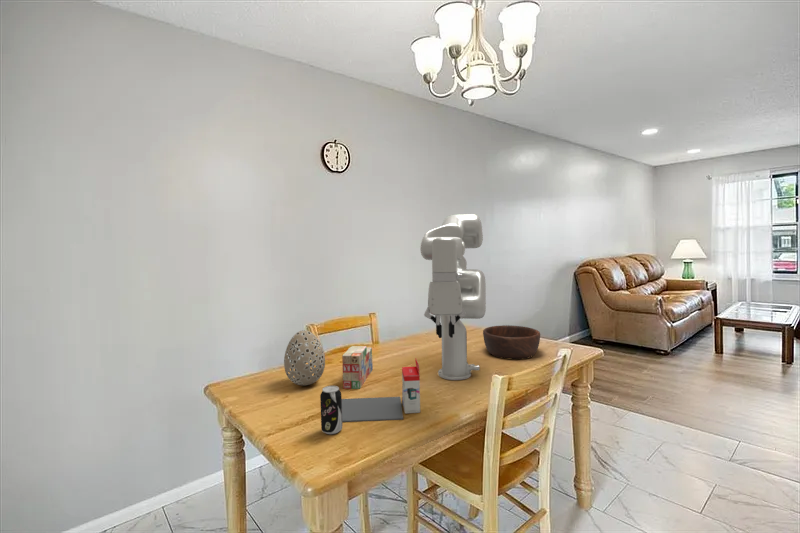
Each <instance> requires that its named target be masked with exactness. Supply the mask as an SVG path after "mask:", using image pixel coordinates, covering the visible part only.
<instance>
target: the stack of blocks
mask: <svg viewBox="0 0 800 533" xmlns="http://www.w3.org/2000/svg"><path fill="white" fill-rule="evenodd" d="M341 358H342V361H341V362H342V389H345V390H346V389H349V390H354V389H356V390H360V389H361V388H362V387H363V385H364V383H365V382H366V381H367V379H368V377H369V375H370V374H371V373H372V371H373V366H374V365H373V348H372V347H369V346H368V347H367V346H366V345H364V346H361V345H360V346H359V345H352V346H350V347H349V348H348V349H347V350H346V351H345V352H344V353H343V355H342V357H341Z"/></svg>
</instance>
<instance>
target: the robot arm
mask: <svg viewBox="0 0 800 533" xmlns="http://www.w3.org/2000/svg"><path fill="white" fill-rule="evenodd" d="M481 220H482V219H481V218H480V217H479V215H477V214H475V213H465V214H464V213H460V214H451V215H448V216H446V217H445V218H444V220H443V222H442V224H441V225H440V226H438V227H435V228H433V229H430V230H429V231H427V232H425V234H424V236H423V237H422V239H421V243H420V254H421V257H422V258H423V259H424V260H428V261H431V267H432V268H431V271H432V272H431V274H432V277H431V278H432V279H431V280H432V281H430V282H429V284H428V294H427V308H426V310H425V311H424V314H423V316H424V317H425V318H427V319H429V320H431V321H432V322H433V323H434V324H435V334H436V336H438V338H439V339H441V368H440V369H438V371H437V375H438V376H439V377H440V378H442V379H445V380H448V381H462V380H467V379H469V378H471V376H472V371H480V365H479V364H477V365H476V364H475V363H468V350H467V345H468V344H467V343H468V342H467V341H468V334H467V333H468V332H467V328H466V326H465V325H464V323H463V322H462V319H465V320H466V319H472V320H474V319H475V320H478V319H479V320H481V319H483V317H484V316H485V314H486V310H487V309H486V308H487V306H486V304H487V300H486V296H487V295H486V294H487V293H486V288H487V286H486V283H487V282H486V276H485V273H484V272H483V271H482V270H480V269H470V268H469V269H467V265H468V264H467V259H466V258H465V257H464V255H465V252H466V249H478V248H481V246H482V245H483V240H484V238H483V236H484V235H483V226H482V221H481Z"/></svg>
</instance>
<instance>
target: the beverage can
mask: <svg viewBox="0 0 800 533" xmlns="http://www.w3.org/2000/svg"><path fill="white" fill-rule="evenodd" d="M319 396H320V397H319V398H320V400H319V402H320V425H321V432H322V433H323V434H327V435H335V434H337V433H339V432H340V431H342V430H343V422H342V399H343V398H342V392H341V390H340V387H339V386H337V385H327V386H324V387H322V391H321V392H320V394H319Z"/></svg>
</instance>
